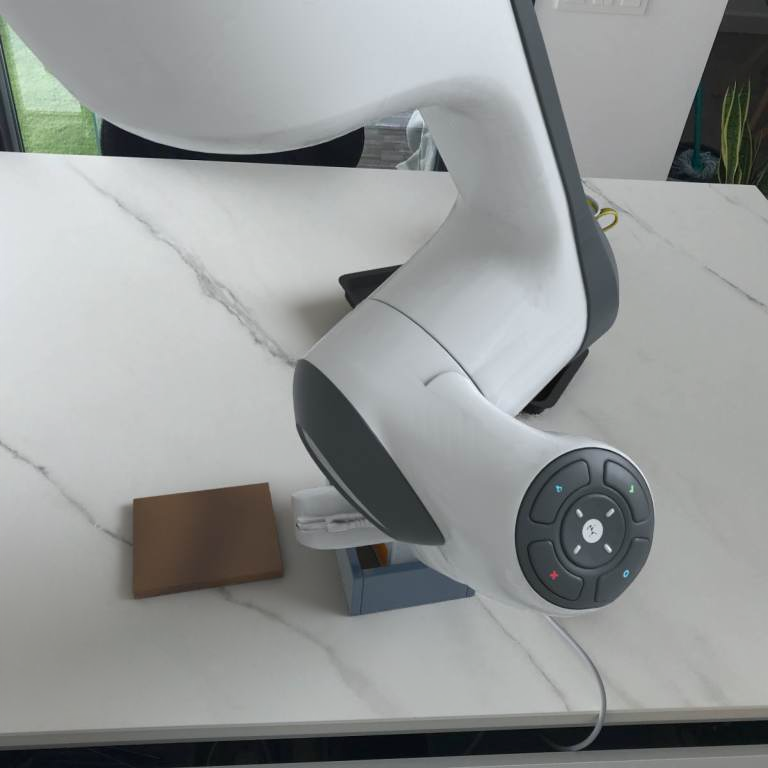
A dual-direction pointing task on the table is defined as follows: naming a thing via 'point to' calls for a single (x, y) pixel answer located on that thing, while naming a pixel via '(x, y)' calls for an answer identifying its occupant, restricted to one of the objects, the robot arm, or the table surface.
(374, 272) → the tray
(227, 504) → the coaster
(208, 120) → the robot arm
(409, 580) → the holder
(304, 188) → the table surface
